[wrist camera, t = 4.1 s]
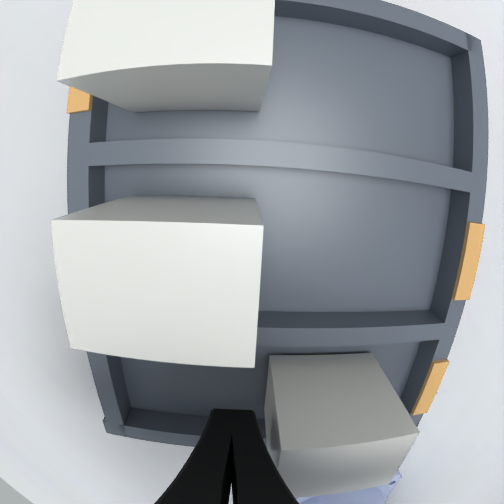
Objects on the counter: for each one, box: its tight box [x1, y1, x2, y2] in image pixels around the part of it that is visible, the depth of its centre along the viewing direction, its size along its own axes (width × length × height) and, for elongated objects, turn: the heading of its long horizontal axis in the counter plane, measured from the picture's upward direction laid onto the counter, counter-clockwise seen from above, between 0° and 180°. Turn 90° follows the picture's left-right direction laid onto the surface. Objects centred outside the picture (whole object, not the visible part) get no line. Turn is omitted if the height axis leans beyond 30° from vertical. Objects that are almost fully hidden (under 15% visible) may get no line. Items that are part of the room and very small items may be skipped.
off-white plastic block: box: [56, 0, 275, 112], centre depth 6 cm, size 3×4×4 cm
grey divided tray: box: [67, 0, 488, 448], centre depth 10 cm, size 17×14×3 cm
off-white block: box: [51, 196, 264, 368], centre depth 8 cm, size 3×4×4 cm
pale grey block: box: [264, 353, 420, 498], centre depth 9 cm, size 3×4×4 cm
